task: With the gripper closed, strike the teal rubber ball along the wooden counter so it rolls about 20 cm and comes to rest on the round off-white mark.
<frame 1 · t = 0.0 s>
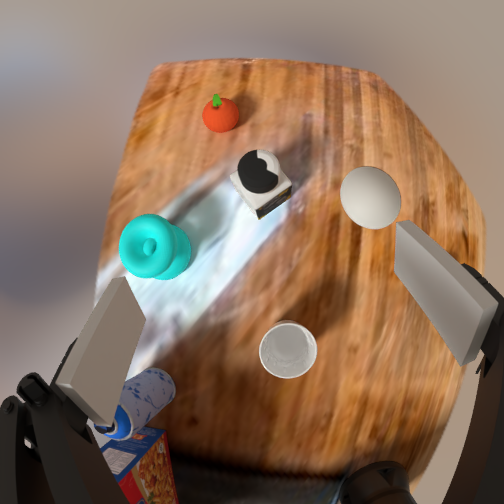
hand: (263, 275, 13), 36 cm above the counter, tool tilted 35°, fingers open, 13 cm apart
pasta box: (157, 476, 45), on the counter
white cup: (286, 339, 47), on the counter
clementine: (223, 122, 54), on the counter
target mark: (371, 196, 49), on the counter
aerosol can: (157, 386, 48), on the counter
medicine bottle: (263, 193, 51), on the counter
donuts: (167, 252, 51), on the counter
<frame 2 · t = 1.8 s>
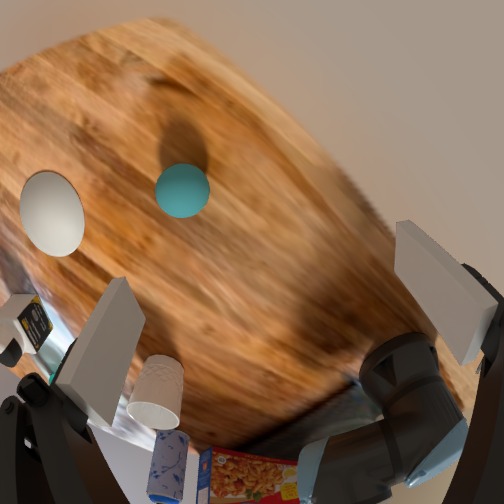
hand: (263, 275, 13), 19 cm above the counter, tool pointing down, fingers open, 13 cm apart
pasta box: (254, 460, 62), on the counter
white cup: (164, 366, 43), on the counter
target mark: (49, 215, 31), on the counter
ball: (182, 190, 28), on the counter
aerosol can: (173, 435, 55), on the counter
medicine bottle: (33, 309, 38), on the counter
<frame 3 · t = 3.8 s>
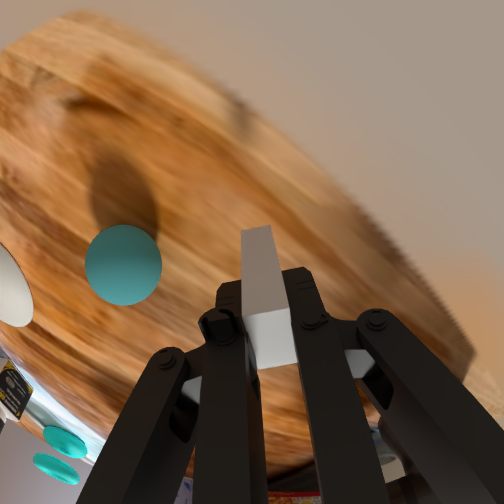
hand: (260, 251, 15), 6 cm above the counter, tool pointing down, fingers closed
pasta box: (267, 493, 53), on the counter
ball: (123, 264, 18), on the counter
aerosol can: (178, 479, 46), on the counter
medicine bottle: (11, 371, 30), on the counter
donuts: (66, 436, 39), on the counter
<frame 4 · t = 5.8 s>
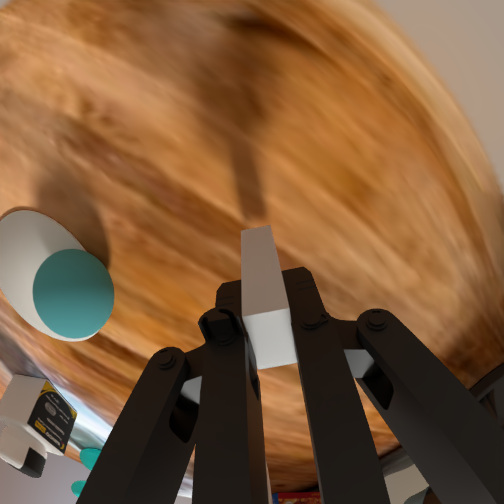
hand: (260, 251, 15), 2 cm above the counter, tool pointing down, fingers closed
pasta box: (318, 494, 50), on the counter
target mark: (42, 282, 18), on the counter
ball: (72, 293, 15), on the counter
medicine bottle: (46, 392, 26), on the counter
donuts: (108, 457, 35), on the counter
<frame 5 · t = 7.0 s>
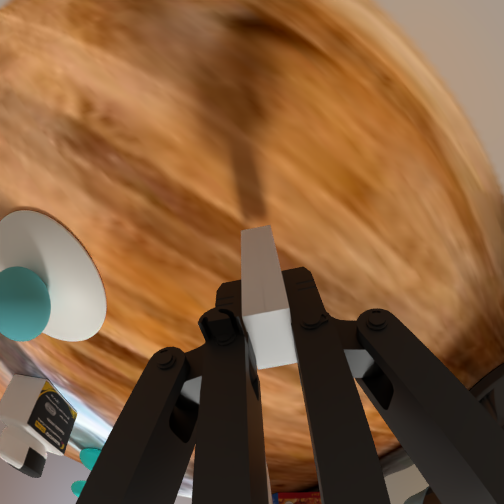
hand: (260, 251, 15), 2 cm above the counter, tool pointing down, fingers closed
pasta box: (318, 494, 50), on the counter
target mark: (42, 282, 18), on the counter
ball: (18, 304, 15), on the counter
medicine bottle: (46, 392, 26), on the counter
donuts: (108, 457, 35), on the counter
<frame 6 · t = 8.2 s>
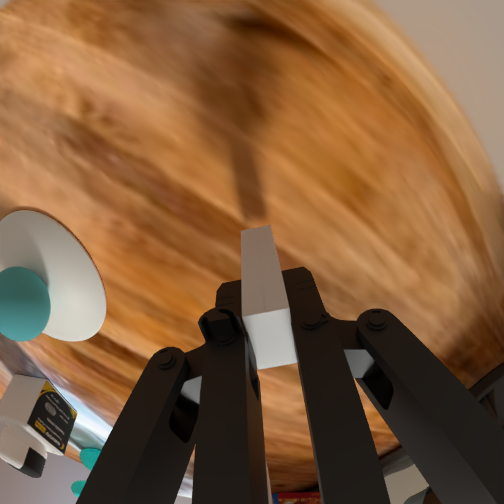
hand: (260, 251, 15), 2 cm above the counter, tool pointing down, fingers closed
pasta box: (318, 494, 50), on the counter
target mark: (42, 282, 18), on the counter
ball: (18, 304, 15), on the counter
medicine bottle: (46, 392, 26), on the counter
donuts: (108, 457, 35), on the counter
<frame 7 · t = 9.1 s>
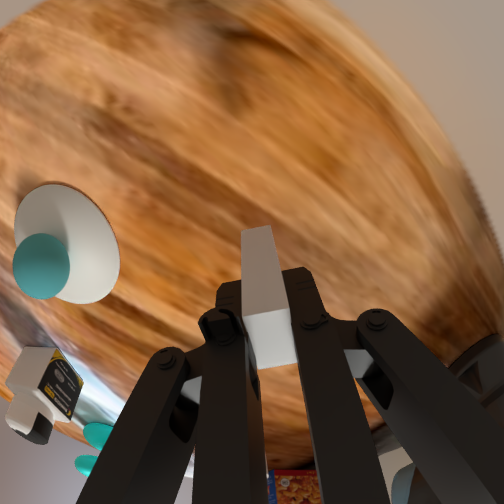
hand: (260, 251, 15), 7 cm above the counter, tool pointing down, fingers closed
pasta box: (313, 473, 55), on the counter
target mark: (61, 248, 22), on the counter
ball: (41, 266, 19), on the counter
medicine bottle: (54, 363, 30), on the counter
donuts: (110, 432, 40), on the counter
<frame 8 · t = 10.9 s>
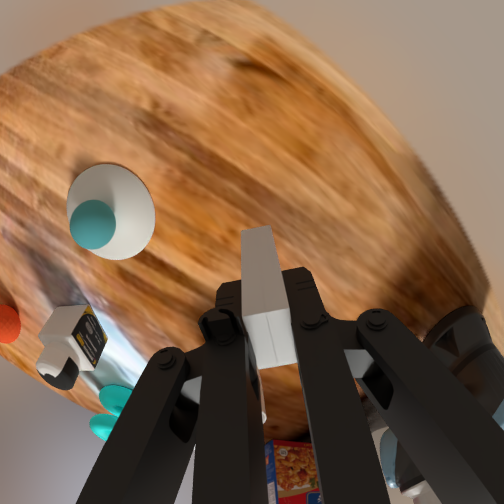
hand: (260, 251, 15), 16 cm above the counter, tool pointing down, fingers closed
pasta box: (310, 448, 62), on the counter
clementine: (12, 310, 38), on the counter
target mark: (108, 214, 31), on the counter
ball: (92, 224, 28), on the counter
medicine bottle: (82, 321, 39), on the counter
donuts: (124, 396, 48), on the counter
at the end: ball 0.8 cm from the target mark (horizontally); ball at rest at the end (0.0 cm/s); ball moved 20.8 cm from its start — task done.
